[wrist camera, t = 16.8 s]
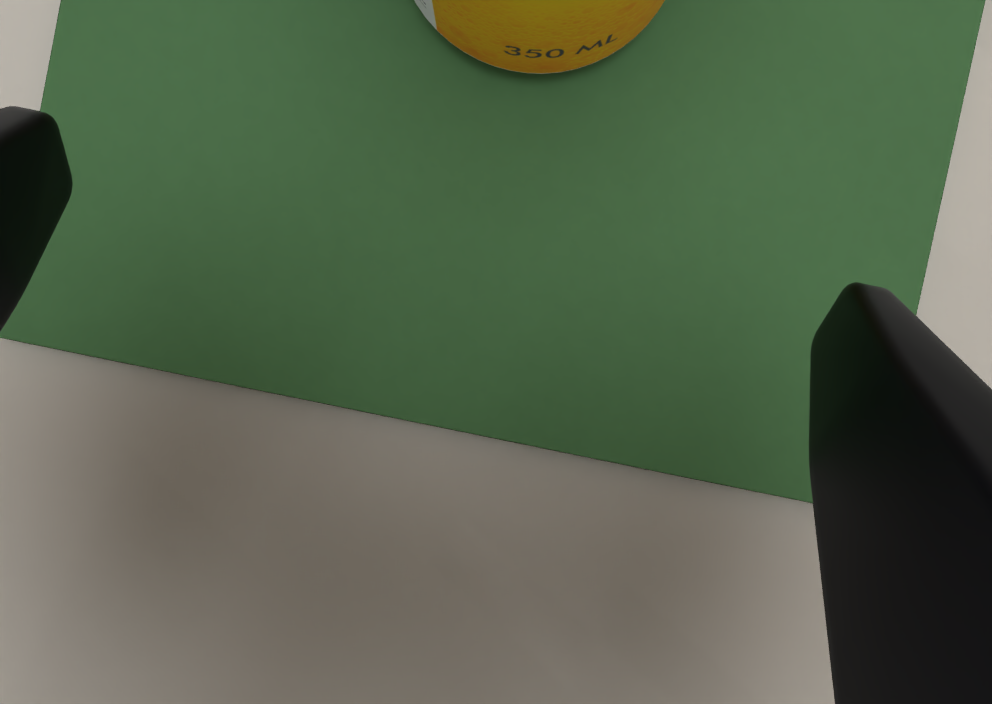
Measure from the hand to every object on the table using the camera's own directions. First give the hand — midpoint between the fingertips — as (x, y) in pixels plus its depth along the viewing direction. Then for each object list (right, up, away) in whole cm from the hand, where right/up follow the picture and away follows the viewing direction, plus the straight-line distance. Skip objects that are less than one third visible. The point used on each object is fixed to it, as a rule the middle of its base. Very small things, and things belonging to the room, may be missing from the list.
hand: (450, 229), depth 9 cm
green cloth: (+1, +8, +9) cm, 12 cm away
